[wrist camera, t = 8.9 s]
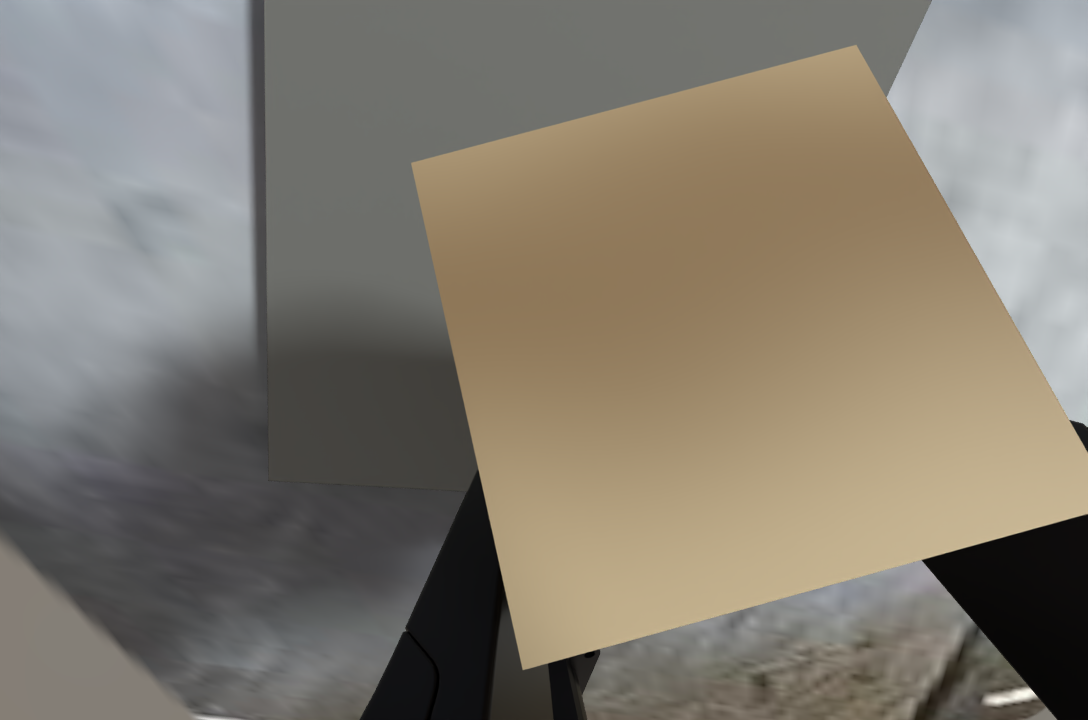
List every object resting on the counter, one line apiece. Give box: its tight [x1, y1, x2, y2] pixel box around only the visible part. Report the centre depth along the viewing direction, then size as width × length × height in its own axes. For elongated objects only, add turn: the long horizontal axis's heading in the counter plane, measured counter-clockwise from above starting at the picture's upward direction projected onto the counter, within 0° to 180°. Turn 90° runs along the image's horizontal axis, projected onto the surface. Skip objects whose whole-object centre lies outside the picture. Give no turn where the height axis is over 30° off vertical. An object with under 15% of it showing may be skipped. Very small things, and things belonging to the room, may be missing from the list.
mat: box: [264, 0, 932, 492], centre depth 15 cm, size 18×15×1 cm
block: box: [411, 45, 1088, 670], centre depth 11 cm, size 4×4×12 cm
